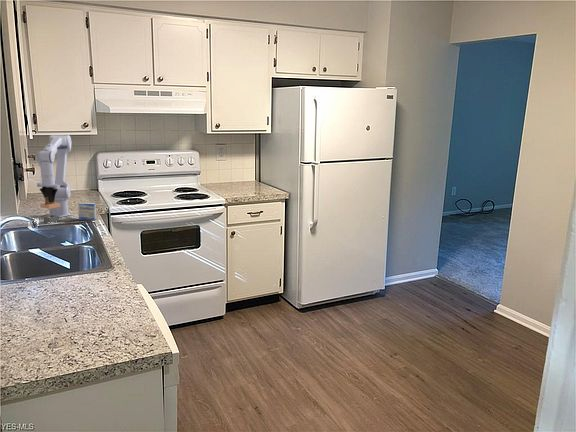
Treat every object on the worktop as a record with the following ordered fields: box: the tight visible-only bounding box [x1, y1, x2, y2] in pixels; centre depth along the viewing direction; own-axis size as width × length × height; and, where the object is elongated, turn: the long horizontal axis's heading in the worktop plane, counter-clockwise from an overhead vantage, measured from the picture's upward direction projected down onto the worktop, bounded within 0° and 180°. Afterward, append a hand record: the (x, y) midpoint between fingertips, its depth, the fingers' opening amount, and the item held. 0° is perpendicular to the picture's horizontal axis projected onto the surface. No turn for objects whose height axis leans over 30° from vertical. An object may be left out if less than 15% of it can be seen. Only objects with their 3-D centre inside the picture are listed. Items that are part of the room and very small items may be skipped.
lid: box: [39, 197, 60, 210], centre depth 230 cm, size 6×6×5 cm
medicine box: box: [78, 202, 97, 221], centre depth 238 cm, size 8×4×9 cm, turn 105°
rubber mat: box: [59, 216, 80, 223], centre depth 237 cm, size 8×8×1 cm
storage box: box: [42, 214, 60, 224], centre depth 232 cm, size 5×5×3 cm
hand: (49, 201), depth 230 cm, fingers closed on lid
